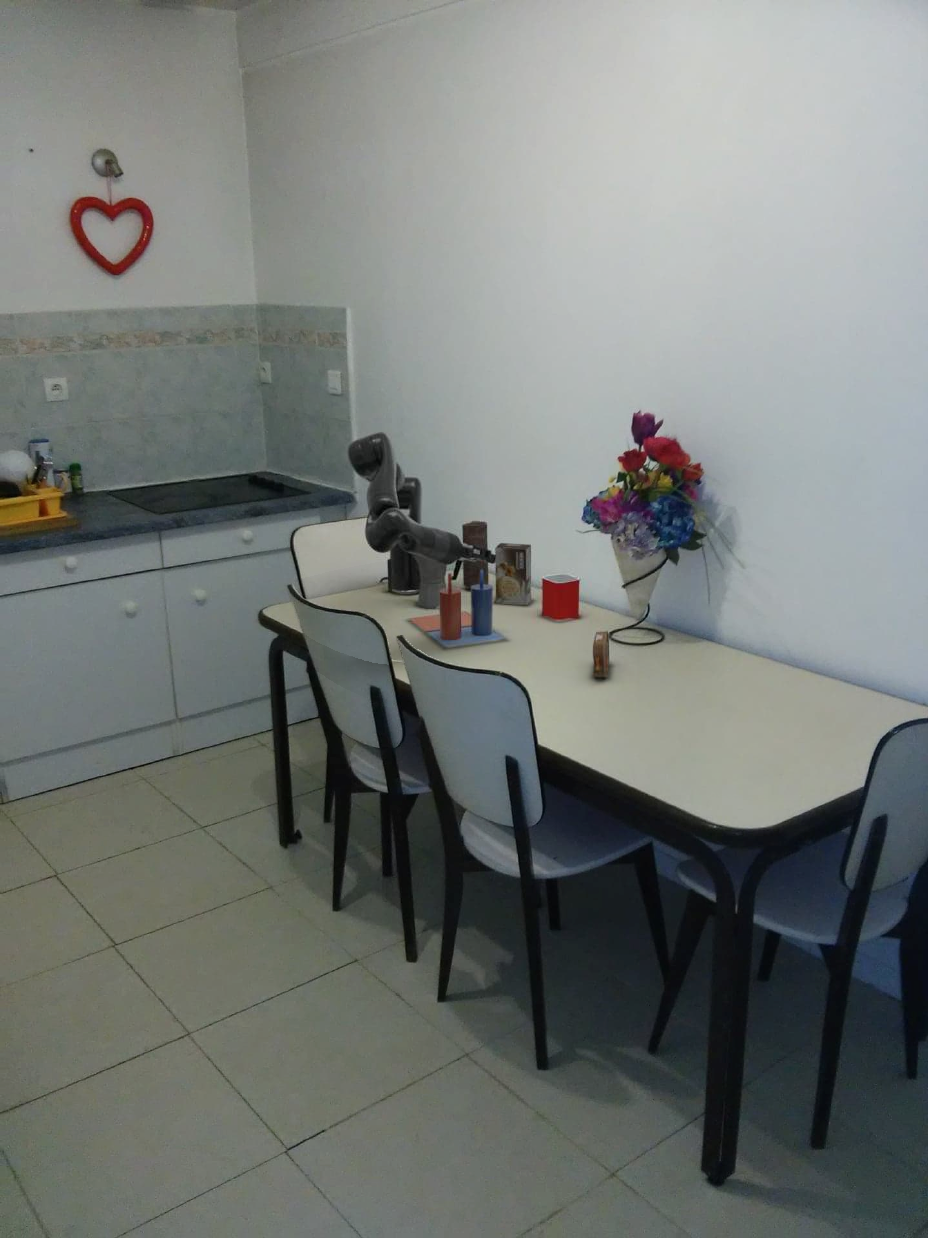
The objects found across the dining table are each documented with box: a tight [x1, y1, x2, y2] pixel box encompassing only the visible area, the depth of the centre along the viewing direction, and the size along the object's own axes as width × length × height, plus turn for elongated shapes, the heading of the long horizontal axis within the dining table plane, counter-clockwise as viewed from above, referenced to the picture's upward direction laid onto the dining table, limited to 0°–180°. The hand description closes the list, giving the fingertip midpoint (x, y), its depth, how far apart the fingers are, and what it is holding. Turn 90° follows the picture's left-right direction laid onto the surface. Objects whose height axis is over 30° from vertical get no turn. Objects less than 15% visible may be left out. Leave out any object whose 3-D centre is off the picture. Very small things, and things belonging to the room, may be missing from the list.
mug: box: [541, 572, 581, 621], centre depth 284 cm, size 12×8×11 cm
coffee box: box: [494, 542, 532, 606], centre depth 296 cm, size 9×6×16 cm
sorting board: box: [408, 611, 506, 648], centre depth 273 cm, size 16×26×1 cm, turn 23°
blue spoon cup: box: [470, 570, 494, 636], centre depth 267 cm, size 5×5×16 cm
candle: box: [461, 520, 490, 590], centre depth 309 cm, size 8×7×20 cm
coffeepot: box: [412, 554, 463, 610], centre depth 294 cm, size 15×9×18 cm, turn 70°
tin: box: [592, 630, 610, 679], centre depth 242 cm, size 15×3×8 cm, turn 168°
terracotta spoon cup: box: [438, 572, 462, 640], centre depth 264 cm, size 5×5×16 cm
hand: (481, 559), depth 262 cm, fingers open, 8 cm apart
